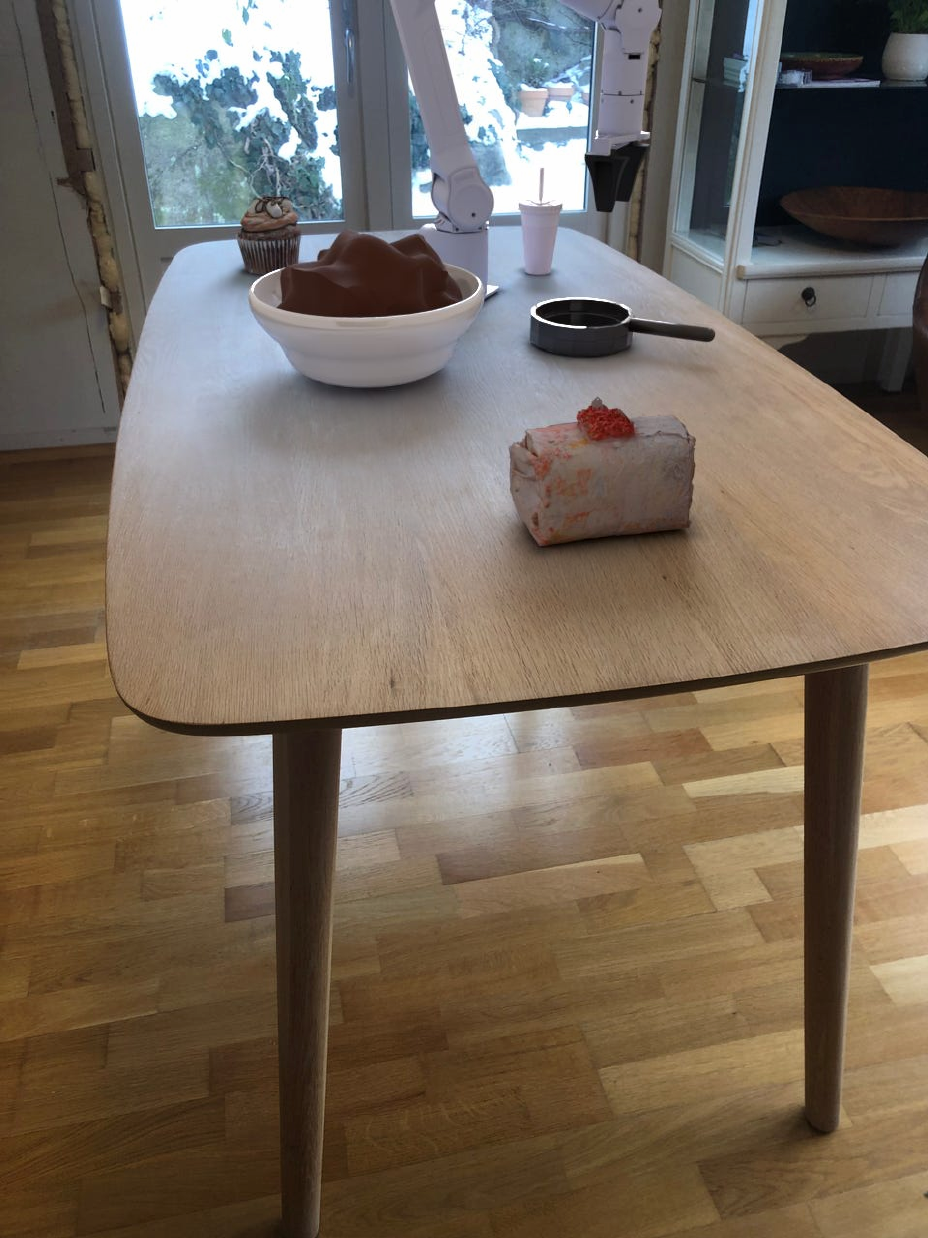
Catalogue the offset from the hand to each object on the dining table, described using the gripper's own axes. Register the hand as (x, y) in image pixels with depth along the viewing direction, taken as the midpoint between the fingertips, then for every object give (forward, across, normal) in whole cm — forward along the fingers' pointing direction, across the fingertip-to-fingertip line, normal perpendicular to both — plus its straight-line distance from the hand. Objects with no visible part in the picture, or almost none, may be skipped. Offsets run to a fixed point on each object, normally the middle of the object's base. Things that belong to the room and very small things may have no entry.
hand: (613, 206), depth 130 cm
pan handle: (+8, -26, -16) cm, 31 cm away
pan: (+10, -26, -5) cm, 28 cm away
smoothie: (+10, +2, +11) cm, 16 cm away
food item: (+10, -69, -22) cm, 73 cm away
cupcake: (+11, -13, +48) cm, 51 cm away
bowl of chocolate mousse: (+10, -46, +12) cm, 49 cm away
